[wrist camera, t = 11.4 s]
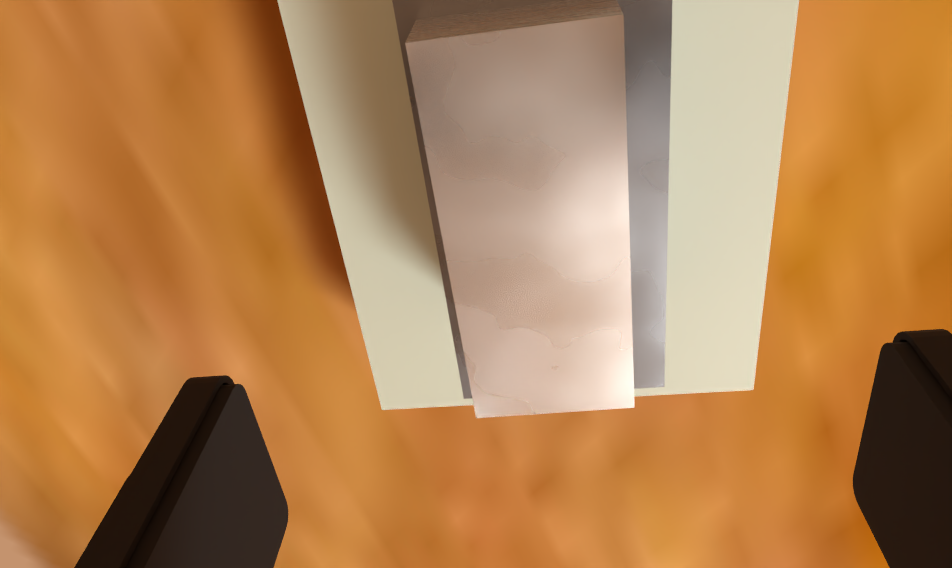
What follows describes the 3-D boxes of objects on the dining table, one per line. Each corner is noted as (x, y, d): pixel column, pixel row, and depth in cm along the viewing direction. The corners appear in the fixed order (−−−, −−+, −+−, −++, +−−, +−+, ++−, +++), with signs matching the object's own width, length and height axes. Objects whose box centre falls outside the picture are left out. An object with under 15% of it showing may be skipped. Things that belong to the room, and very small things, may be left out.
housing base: (641, -83, 16) (673, -51, 13) (642, 294, 21) (664, 387, 18) (415, -54, 16) (389, -15, 13) (472, 307, 22) (463, 398, 19)
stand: (723, 315, 26) (753, 390, 23) (398, 336, 28) (381, 409, 24) (776, -324, 17) (840, -353, 13) (269, -245, 18) (212, -253, 15)
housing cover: (613, -7, 13) (623, 14, 12) (626, 364, 18) (634, 407, 16) (416, 20, 13) (405, 42, 12) (479, 375, 18) (476, 417, 17)
